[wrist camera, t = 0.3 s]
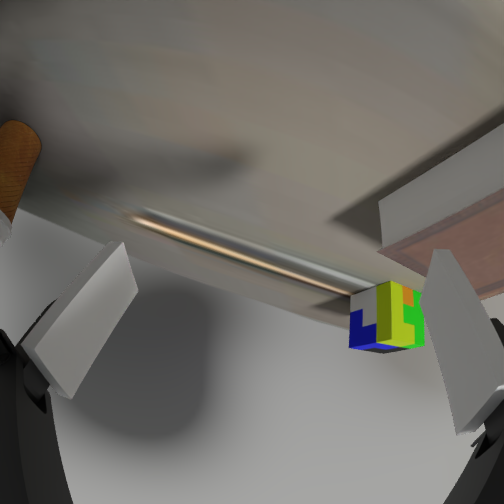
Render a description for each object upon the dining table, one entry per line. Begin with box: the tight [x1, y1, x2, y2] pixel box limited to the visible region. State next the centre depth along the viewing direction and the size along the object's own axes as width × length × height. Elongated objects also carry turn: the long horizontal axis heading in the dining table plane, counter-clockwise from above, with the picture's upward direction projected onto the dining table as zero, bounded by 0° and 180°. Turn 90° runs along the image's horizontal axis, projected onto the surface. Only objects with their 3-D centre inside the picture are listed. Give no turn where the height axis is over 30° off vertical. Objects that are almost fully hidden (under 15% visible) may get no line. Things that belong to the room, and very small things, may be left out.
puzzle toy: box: [349, 281, 424, 354], centre depth 52 cm, size 10×10×10 cm
